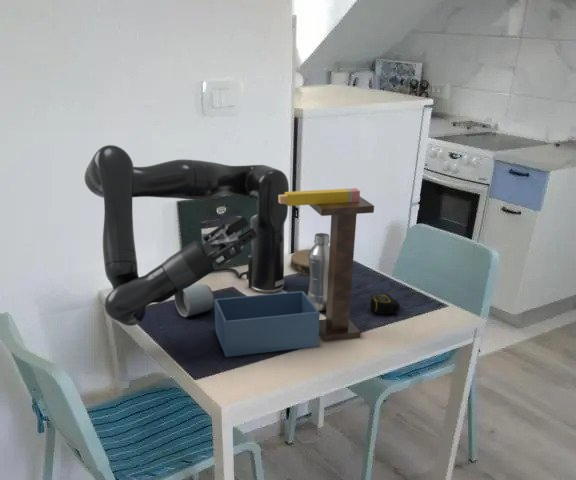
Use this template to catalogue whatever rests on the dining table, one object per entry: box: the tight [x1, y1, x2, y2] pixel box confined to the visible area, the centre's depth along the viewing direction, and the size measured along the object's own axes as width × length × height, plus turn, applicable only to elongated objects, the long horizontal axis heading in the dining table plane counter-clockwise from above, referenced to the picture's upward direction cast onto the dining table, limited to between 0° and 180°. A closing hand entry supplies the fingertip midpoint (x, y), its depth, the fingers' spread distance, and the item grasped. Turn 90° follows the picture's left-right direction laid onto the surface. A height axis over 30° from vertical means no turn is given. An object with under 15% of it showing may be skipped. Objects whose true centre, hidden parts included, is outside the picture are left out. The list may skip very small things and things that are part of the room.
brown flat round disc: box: [290, 248, 311, 276], centre depth 192 cm, size 16×16×3 cm
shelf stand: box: [308, 196, 375, 342], centre depth 145 cm, size 12×10×32 cm
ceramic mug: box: [174, 283, 215, 318], centre depth 160 cm, size 11×8×8 cm
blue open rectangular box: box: [213, 290, 321, 358], centre depth 146 cm, size 22×13×9 cm, turn 106°
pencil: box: [278, 187, 361, 207], centre depth 135 cm, size 18×2×2 cm, turn 106°
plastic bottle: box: [306, 232, 330, 312], centre depth 160 cm, size 6×7×20 cm
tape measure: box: [369, 293, 401, 315], centre depth 163 cm, size 7×7×4 cm
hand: (250, 225), depth 134 cm, fingers open, 8 cm apart
